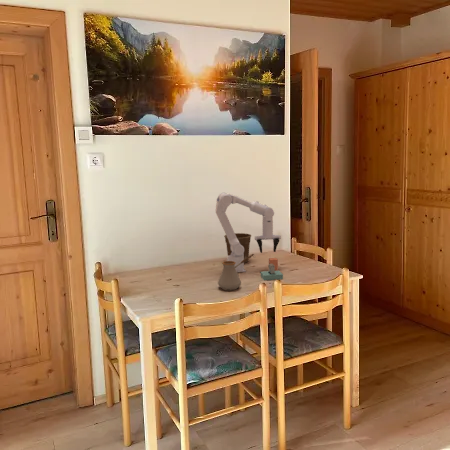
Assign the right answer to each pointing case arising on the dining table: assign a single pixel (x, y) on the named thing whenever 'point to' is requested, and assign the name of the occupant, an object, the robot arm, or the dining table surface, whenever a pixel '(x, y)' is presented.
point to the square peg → (274, 263)
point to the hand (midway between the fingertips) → (267, 252)
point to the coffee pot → (230, 275)
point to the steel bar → (271, 269)
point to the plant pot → (243, 240)
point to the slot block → (267, 276)
